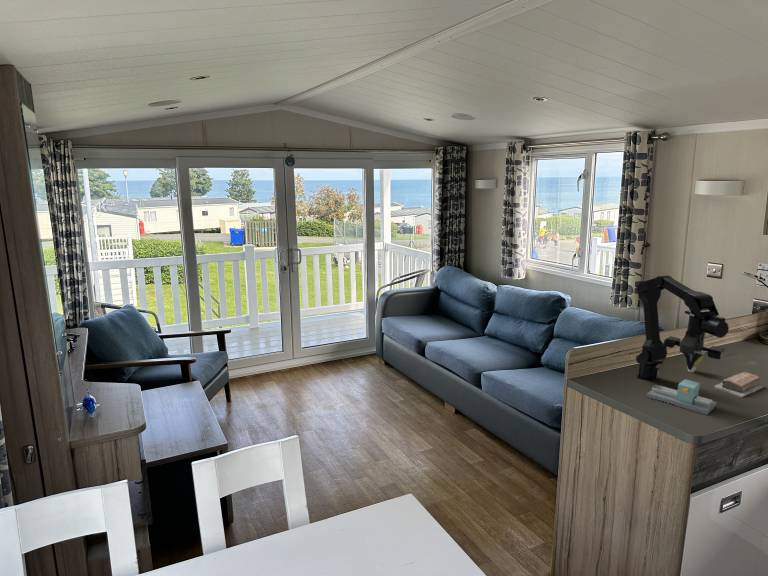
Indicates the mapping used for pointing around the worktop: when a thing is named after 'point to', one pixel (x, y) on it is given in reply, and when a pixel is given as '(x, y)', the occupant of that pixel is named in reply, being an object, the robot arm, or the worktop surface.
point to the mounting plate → (681, 404)
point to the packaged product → (740, 384)
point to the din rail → (673, 393)
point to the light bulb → (695, 364)
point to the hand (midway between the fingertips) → (689, 369)
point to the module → (687, 391)
